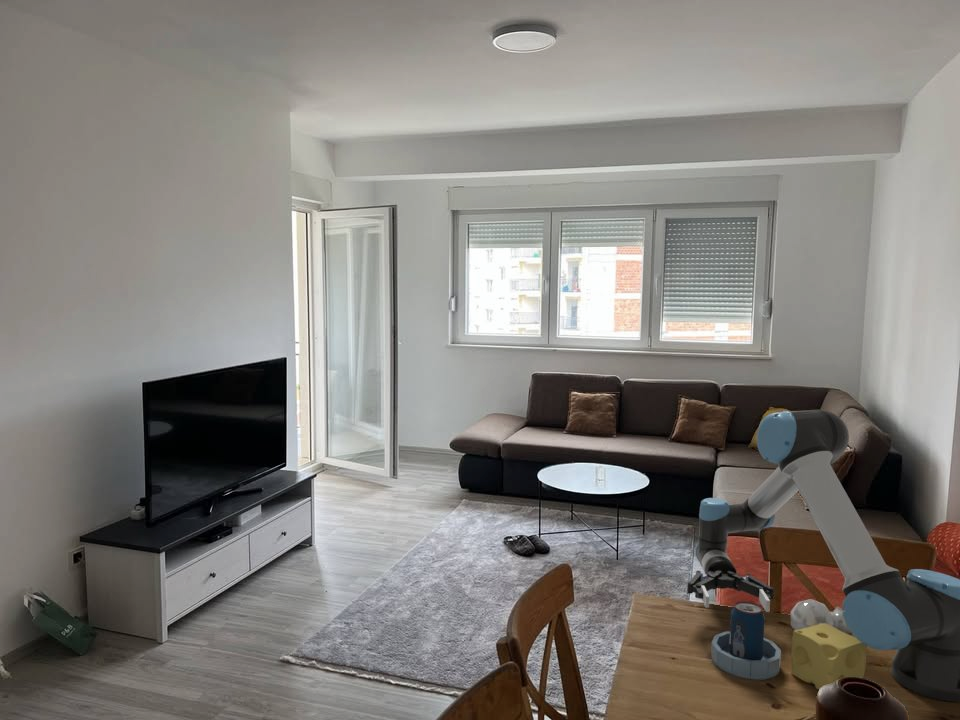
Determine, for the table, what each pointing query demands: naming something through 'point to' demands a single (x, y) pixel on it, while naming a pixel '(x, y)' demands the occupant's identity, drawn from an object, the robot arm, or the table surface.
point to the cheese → (826, 655)
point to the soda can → (746, 631)
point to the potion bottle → (817, 616)
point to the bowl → (743, 667)
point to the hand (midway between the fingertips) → (737, 604)
